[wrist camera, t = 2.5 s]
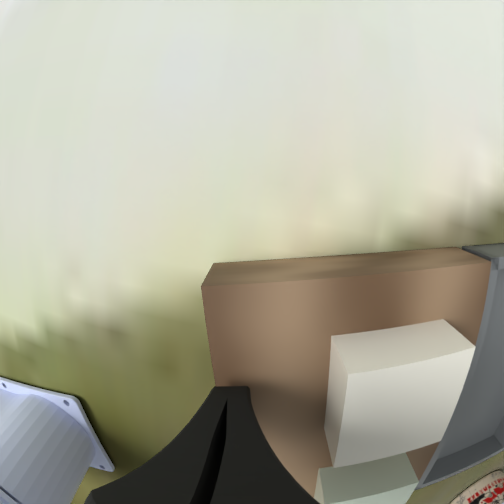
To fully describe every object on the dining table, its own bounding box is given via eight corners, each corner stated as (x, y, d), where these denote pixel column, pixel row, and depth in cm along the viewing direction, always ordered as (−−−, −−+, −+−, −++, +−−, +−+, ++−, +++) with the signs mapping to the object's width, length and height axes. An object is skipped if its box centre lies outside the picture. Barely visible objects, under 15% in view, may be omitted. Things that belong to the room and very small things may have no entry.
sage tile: (312, 506, 14) (316, 536, 11) (318, 468, 12) (324, 504, 10) (385, 492, 13) (394, 519, 11) (404, 450, 12) (419, 481, 10)
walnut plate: (246, 492, 17) (244, 522, 14) (213, 263, 13) (201, 286, 10) (398, 470, 17) (409, 497, 14) (455, 247, 13) (491, 261, 10)
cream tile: (324, 427, 12) (333, 468, 9) (331, 335, 11) (348, 374, 8) (420, 408, 12) (440, 440, 9) (443, 318, 10) (475, 346, 8)
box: (403, 469, 17) (412, 490, 14) (462, 246, 13) (491, 258, 10) (493, 433, 16) (504, 449, 14) (553, 238, 12) (577, 246, 10)
